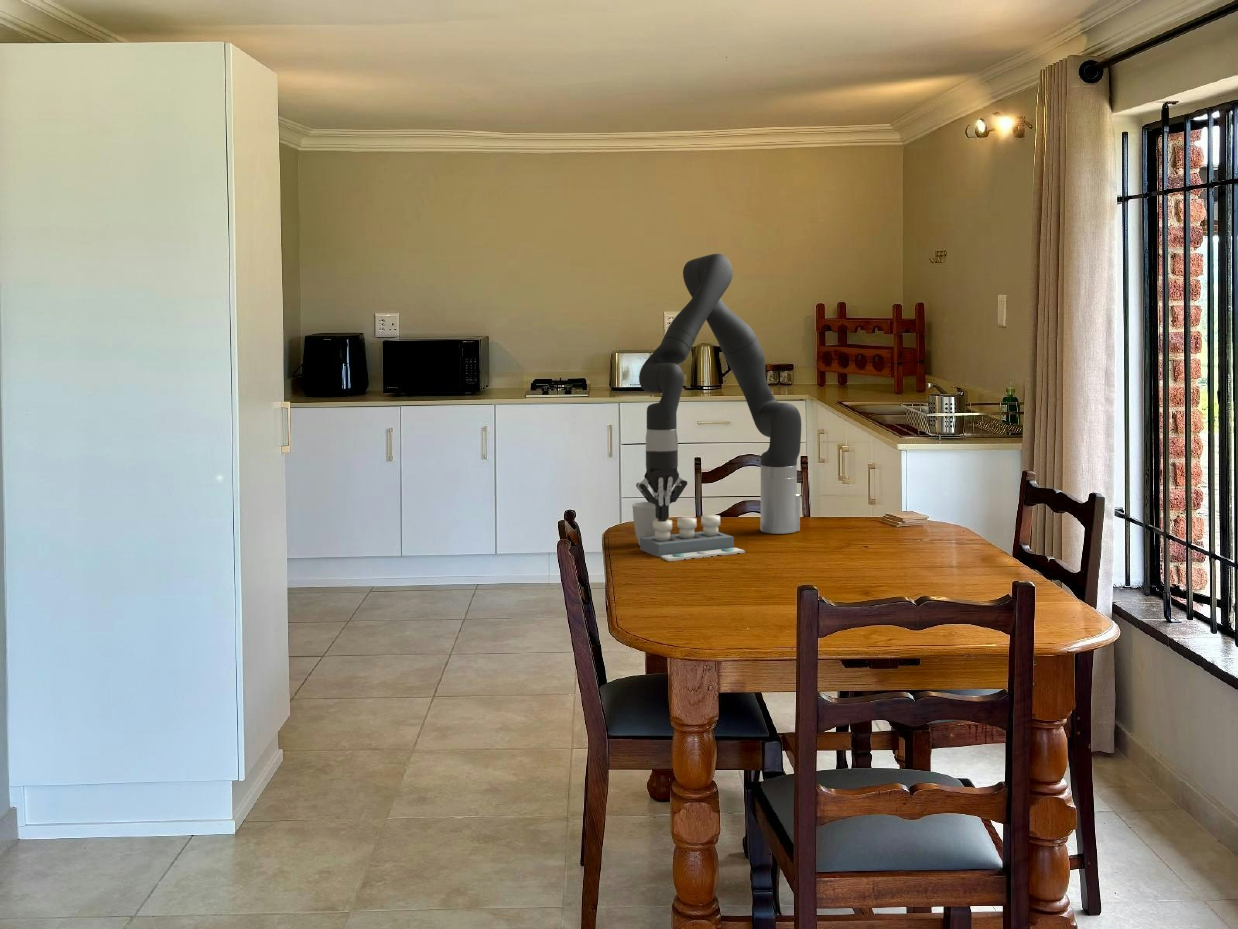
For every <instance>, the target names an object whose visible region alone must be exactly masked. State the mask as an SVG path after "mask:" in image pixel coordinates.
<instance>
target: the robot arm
mask: <svg viewBox="0 0 1238 929" xmlns="http://www.w3.org/2000/svg"><path fill="white" fill-rule="evenodd" d="M733 275H734V270H733V266H732V263H731V261H730V260H729V258H728V257H726V255H724V254H721V253H712V254H708V255H705V256H701V257H700V256H699V257H696V258H693V259H691V260H688V261H687V262H686V263H685V265H684V266H683V269H682V278H683V282H684V284H685V287H686V289H687V291H688V292H689V295H690V296H691V299H690V300H689V302H687V303H686V305H685V306H684V307H683V308H682V309H681V311H680V312H679V313H677V315H676V316H675V317H674V318H673V320H672V322H670V324H669V326H668V328H667V329H666V332H665V334H664V336H663V339H661V340H662V341H661V343H660V345H658V346H657V348H656V349H654V351H653V352H652V353H651V355H649V356H648V358H647V359H646V360H645V362H644V363H643V364H642V366H641V368H640V371H639V373H638V374H639V375H638V383H639V386H640V388H641V390H643V391H645V392H647V393H651V394H655V393H656V394H661V397H660V400H659V401H658V402H655V403H651V404H649V405H648V406H647V408H646V431H645V432H646V434H645V468H646V471H645V474H644V478H643V479H642V480H641V481H640V482H636V485H635V486H636V488H637V490H638V491H639V492H640V493H641V494H642V497H644V498H645V500H646V502H649V503H652V504H655V515H656V518H657V519H658V521H660V522H662V521H667V520H669V517H670V512H669V511H670V510H669V509H670V505H671V504H673V503H676V502H677V500H678V499H679V497H680V496H681V494H682V493H683V491H684V490H685V489H686V486H687V485H688V481H687V480H685V479H682V478H681V477H680V474H679V471H678V466H679V463H678V462H679V455H678V454H679V453H678V451H679V450H678V448H679V443H678V442H679V440H678V438H679V437H678V432H677V425H678V424H677V420H678V419H677V412H678V407H679V403H680V399H681V395H682V393H683V392H682V391H683V388H684V382H685V378H684V377H685V376H684V372H683V370H682V367H681V366H679V364H682V363H683V362H685V361H686V360H687V358H688V357H689V354H690V353H691V350H692V347H693V345H694V343H695V341H696V340H697V337H698V335H699V333H700V331H701V329H702V328H703V326H704V324H705V322H707V324H708V326H709V328H710V330H711V331H712V333H713V335H714V338H715V339H716V341H717V343H718V345H719V347H720V349H721V352H722V355H723V356H724V358H725V360H726V362H727V364H728V366H729V368H730V370H731V372H732V374H733V376H734V377H735V380H736V382H737V384H738V386H739V388H740V390H741V392H742V393H743V396H744V399H745V401H746V404H747V406H748V409H749V412H750V414H751V418H752V420H753V422H754V425H755V427H756V429H757V430H758V432H759V433H761V435H763V436H764V437H768V438H769V446H768V449H767V450H766V451H764V452H763V453H762V454H761V455H760V522H759V523H760V531H761V532H762V533H765V534H774V535H775V534H777V535H778V534H780V535H782V534H784V535H785V534H791V533H792V534H793V533H795V532H799V531H801V530H800V529H801V526H800V525H801V519H800V518H801V516H800V515H801V494H799V493H797V490H798V488H797V485H798V484H797V478H798V476H797V475H798V469H797V468H798V467H797V466H798V458H799V456H800V452H801V441H802V440H801V439H802V417H801V414H800V410H799V409H798V408H797V406H795V405H794V404H791V403H788V402H781V401H780V402H779V401H778V400H777V398H775V396H774V394H773V392H772V390H771V388H770V386H769V384H768V381H767V377H766V359H765V354H764V350H763V349H762V346H761V344H760V342H759V340H758V338H757V336H756V333H755V332H754V330H753V329H752V328H751V326H749V324H748V323H746V322H745V321H744V320H743V319H742V318H740V317H739V316H738V314H735V313H734V312H733V310H731V309H730V308H729V307H728V306H727V305H726V304H725V302H724V301H723V300H722V297H723V295H724V294H725V292H726V290H728V288H729V287H730V284H731V282H732V280H733V277H734V276H733ZM649 487H650V488H651V490H652V492H651V491H650V490H649Z"/></svg>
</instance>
